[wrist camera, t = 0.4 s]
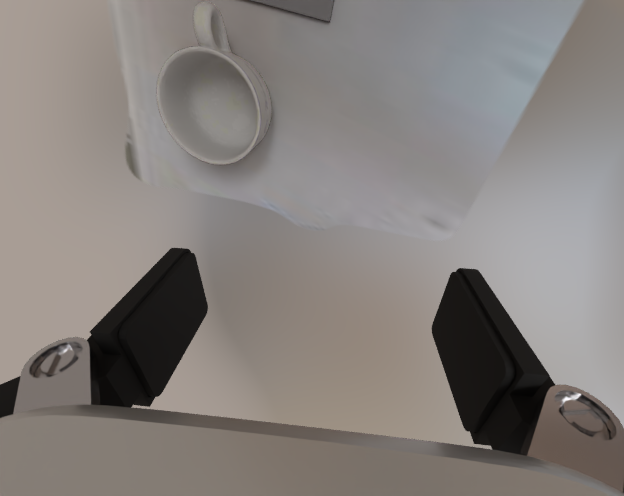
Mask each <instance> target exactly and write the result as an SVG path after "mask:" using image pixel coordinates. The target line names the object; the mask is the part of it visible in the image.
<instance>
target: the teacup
mask: <svg viewBox="0 0 624 496" xmlns="http://www.w3.org/2000/svg"><path fill="white" fill-rule="evenodd" d="M193 22H194V30H195V34H196V37H197V40H198V43H199V45H200V46H191V47H187V48H184V49H181V50H179V51H177V52H175V53H174V54H173V55H171V56H170V57H169V58H168V59H167V60H166V62H165V63H164V65H163V66H162V68H161V71H160V73H159V77H158V82H157V91H156V94H157V103H158V108H159V112H160V115H161V118H162V120H163V122H164V125H165V127H166V128H167V130H168V132H169V133H170V135H171V136H172V138H173V139H174V140H175V141H176V142H177V144H178V145H179V146H180V147H181V148H182V149H184V150H185V151H186V152H187V153H189V154H190V155H192V156H193V157H195V158H197V159H199V160H201V161H204V162H207V163H210V164H216V165H227V164H232V163H235V162H237V161H239V160H241V159H242V158H244V157H245V156H246V155H247V154H248V153H249V152H250V151H251V150H252V149H253V148H254V147H256V146H257V145H258V144H259V143H260V141H261V140H262V139H263V137H264V136H265V134H266V133H267V130H268V128H269V125H270V121H271V115H272V105H271V98H270V95H269V91H268V88H267V86H266V84H265V82H264V80H263V78H262V77H261V75H260V74H259V73H258V71H257V70H256V69H255V68H254V67H253V66H252V65H251V64H250V63H249V62H247V61H246V60H244V59H243V58H241V57H239V56H237V55H235V54H232V52H231V49H230V46H229V43H228V38H227V34H226V29H225V25H224V21H223V18H222V15H221V13H220V11H219V9H218V8H217V6H216V5H214V4H213V3H210V2H200V3H198V4H197V5H196V7H195V9H194V14H193ZM212 35H213V36H212Z"/></svg>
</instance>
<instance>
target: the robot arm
mask: <svg viewBox="0 0 624 496" xmlns="http://www.w3.org/2000/svg"><path fill="white" fill-rule="evenodd" d="M207 309H208V305H207V301H206V297H205V293H204V289H203V285H202V281H201V277H200V273H199V269H198V265H197V261H196V257H195V255H194V253H191V251H190V250H189V249H182V248H171V249H170V250H169V251H168V252H167V253H166V254H165V255H164V256H163V257H162V258H161V259H160V260H159V261H158V262H157V264H155V265H154V266H153V267H152V268H151V270H150V271H149V272H148V273H147V274H146V275H145V276H144V277H143V278H142V279H141V280H140V281H139V282H138V283H137V284H136V285H135V286H134V287H133V288H132V289H131V290H130V291H129V292H128V293H127V294H126V295H125V296H124V297H123V298H122V299H121V300H120V301H119V302H118V303H117V304H116V305H115V307H113V308H112V309H111V311H110V312H108V314H107V315H106V316H105V317H104V318H103V319H102V320H101V321H100V322H99V323H98V324H97V325H96V326H95V327H94V328H93V329H92V330H91V331H90V333H91V334H92V335H91V336H90V337H89V338H88V340H87V341H86V340H85V339H84V338H78V337H73V338H66V339H62V340H59V341H56V342H54V343H52V344H50V345H48V346H46V347H44V348H43V349H41V350H40V351H38V352H37V353H36V354H35V355H33V356H32V357H31V358H30V359H29V361H28V362H27V363H26V364H25V365H24V368H23V370H22V372H21V376H20V377H17V378H15V379H12V380H10V381H8V382H6V383H3V384H1V385H0V496H624V428H623V426H622V424H621V423H620V421H619V419H618V418H617V417H616V416H615V415H614V413H613V412H612V411H611V410H610V409H609V408H608V407H606V405H604V404H603V403H602V402H601V401H600V400H598V399H597V398H595V397H593V396H592V395H590V394H589V393H587V392H585V391H583V390H580V389H578V388H576V387H572V386H568V385H555V384H554V383H553V381H552V379H551V378H550V376H549V374H548V373H547V371H546V370H545V368H544V367H543V365H542V364H541V362H540V361H539V359H538V358H537V356H536V355H535V354H534V352H533V350H532V349H531V348H530V346H529V345H528V343H527V342H526V340H525V339H524V337H523V336H522V334H521V333H520V331H519V330H518V328H517V327H516V325H515V324H514V322H513V321H512V319H511V318H510V316H509V315H508V313H507V312H506V310H505V309H504V307H503V306H502V304H501V303H500V301H499V300H498V299H497V297H496V296H495V294H494V293H493V291H492V290H491V288H490V287H489V285H488V284H487V282H486V281H485V279H484V278H483V276H482V275H481V273H480V272H479V271H478V270H476V269H463V268H459V269H458V270H457V271H456V272H452V273H451V275H450V278H449V281H448V283H447V286H446V289H445V291H444V294H443V297H442V300H441V303H440V305H439V309H438V311H437V314H436V316H435V319H434V322H433V325H432V334H433V338H434V340H435V344H436V346H437V350H438V353H439V355H440V358H441V361H442V364H443V367H444V370H445V373H446V376H447V379H448V382H449V385H450V388H451V391H452V394H453V397H454V400H455V403H456V406H457V409H458V412H459V415H460V418H461V421H462V424H463V426H464V428H465V430H466V431H470V433H471V436H472V439H473V442H474V444H481V445H490V446H491V447H492V450H490V449H483V448H475V447H469V446H461V445H454V444H447V443H439V442H431V441H423V440H415V439H407V438H398V437H390V436H382V435H373V434H365V433H357V432H348V431H340V430H331V429H322V428H314V427H305V426H297V425H288V424H279V423H271V422H262V421H253V420H243V419H235V418H226V417H216V416H208V415H198V414H189V413H180V412H171V411H162V410H151V409H141V408H131V407H132V405H133V404H134V405H140V406H150V405H151V404H152V402H153V400H154V398H155V397H157V396H159V395H160V394H161V393H162V392H163V390H164V388H165V386H166V385H167V383H168V381H169V379H170V378H171V376H172V374H173V372H174V370H175V369H176V367H177V365H178V364H179V362H180V360H181V358H182V356H183V354H184V353H185V351H186V349H187V347H188V346H189V344H190V342H191V340H192V339H193V337H194V335H195V333H196V332H197V330H198V328H199V326H200V325H201V323H202V321H203V319H204V318H205V316H206V313H207Z"/></svg>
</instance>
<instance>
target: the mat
mask: <svg viewBox="0 0 624 496" xmlns="http://www.w3.org/2000/svg"><path fill="white" fill-rule="evenodd" d="M250 1H254V2H258V3H261V4H265V5H269V6H272V7H276V8H280V9H283V10H287V11H291V12H294V13H298V14H302V15H305V16H309V17H312V18H316V19H320V20H323V21H327V22H330V18H331V13H332V8H333V3H334V0H250Z"/></svg>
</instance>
